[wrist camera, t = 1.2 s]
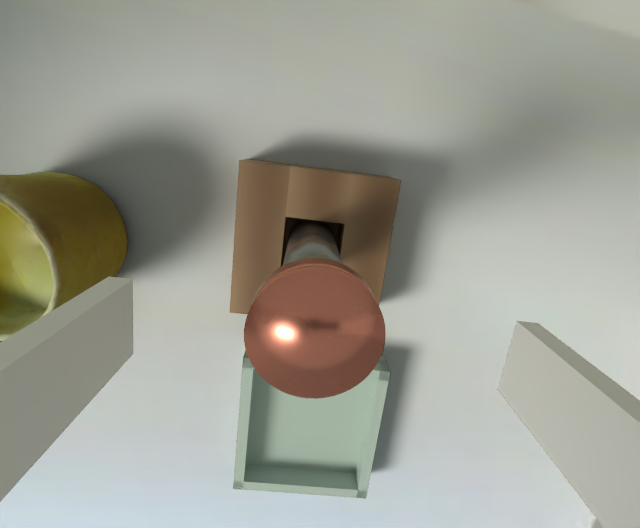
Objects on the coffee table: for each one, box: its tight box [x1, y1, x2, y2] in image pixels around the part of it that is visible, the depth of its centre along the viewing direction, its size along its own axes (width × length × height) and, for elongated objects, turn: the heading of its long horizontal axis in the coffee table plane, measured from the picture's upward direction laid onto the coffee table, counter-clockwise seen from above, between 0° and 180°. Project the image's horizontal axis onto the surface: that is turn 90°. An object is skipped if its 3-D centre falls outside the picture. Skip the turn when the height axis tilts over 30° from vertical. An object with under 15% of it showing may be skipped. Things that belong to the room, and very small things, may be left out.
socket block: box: [230, 159, 401, 314], centre depth 27 cm, size 10×10×4 cm
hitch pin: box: [244, 219, 385, 399], centre depth 21 cm, size 5×5×16 cm
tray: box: [233, 351, 390, 498], centre depth 32 cm, size 11×12×2 cm
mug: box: [0, 172, 128, 341], centre depth 24 cm, size 12×10×10 cm
